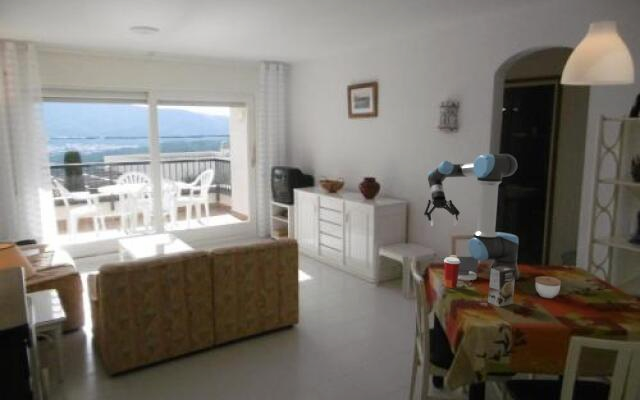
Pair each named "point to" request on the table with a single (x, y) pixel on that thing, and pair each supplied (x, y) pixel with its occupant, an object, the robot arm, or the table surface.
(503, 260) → the robot arm
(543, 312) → the table surface
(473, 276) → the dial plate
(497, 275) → the coffee box
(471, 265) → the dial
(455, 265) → the paper cup
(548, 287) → the white bowl
